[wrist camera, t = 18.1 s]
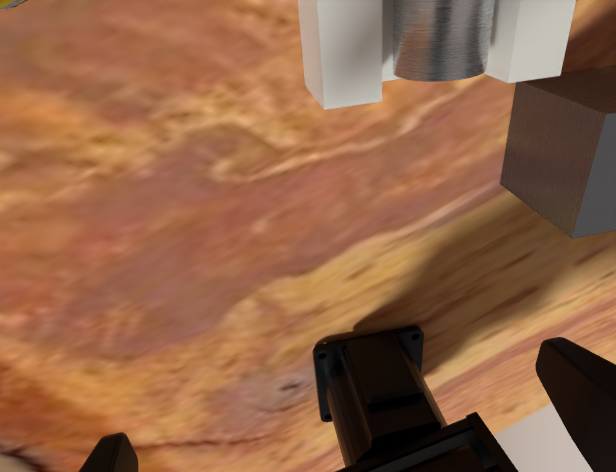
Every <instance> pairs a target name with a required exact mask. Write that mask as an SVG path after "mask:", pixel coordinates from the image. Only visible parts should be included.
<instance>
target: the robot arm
mask: <svg viewBox="0 0 616 472" xmlns="http://www.w3.org/2000/svg"><path fill="white" fill-rule="evenodd" d="M413 334H414V335H413ZM423 339H424V334H423V331H422V330H421V328H420V327H419V326H409V327H405V328H400V329H395V330H390V331H385V332H380V333H375V334H371V335H366V336H361V337H356V338H351V339H346V340H341V341H337V342H332V343H327V344H322V345H319V346H317V347H315V348H314V350H313V361H314V369H315V378H316V387H317V395H318V404H319V413H320V417H321V420H322V421H323V422H331V421H333V423H334V427H335V431H336V434H337V438H338V442H339V445H340V449H341V453H342V456H343V460H344V464H345V468H343V469H340V470H338V471H335V472H518V470H517V469H516V468H515V466H514V465H513V463H512V462H511V460H510V459H509V458H508V456H507V455H506V453H505V452H504V450H503V449H502V448H501V446H500V445H499V444H498V442H497V440H496V439H495V438H494V436H493V435H492V433H491V432H490V430H489V429H488V428H487V426H486V425H485V423H484V422H483V420H482V419H481V418H480V416H479V415H478V413H477V412H474V413H471V414H469V415H467V416H466V418H465V419H462V420H460V421H457V422H455V423H452V424H450V425H447V423H446V421H445V419H444V417H443V415H442V413H441V411H440V409H439V407H438V405H437V403H436V402H435V400H434V398H433V396H432V394H431V392H430V390H429V388H428V386H427V384H426V382H425V380H424V378H423V376H422V375H421V366H422V352H423ZM321 353H323V354H321ZM536 372H537V375H538V377H539V379H540V381H541V383H542V385H543V387H544V388H545V390H546V392H547V394H548V396H549V398H550V400H551V401H552V403H553V405H554V407H555V409H556V411H557V413H558V414H559V416H560V418H561V420H562V422H563V424H564V426H565V427H566V429H567V431H568V433H569V434H570V436H571V438H572V440H573V441H574V443H575V444H576V446H577V448H578V449H579V451H580V452H581V454H582V455H583V457H584V458H585V460H586V461H587V462H588V464H589V466H590V467H591V469H592V470H593V472H616V365H615V364H613V363H612V362H610V361H608V360H606V359H604V358H602V357H600V356H598V355H596V354H594V353H592V352H591V351H589V350H587V349H585V348H583V347H581V346H579V345H577V344H575V343H573V342H571V341H570V340H568V339H565V338H563V337H556V338H551V339H547V340H544V341H543V342H542V343H541V346H540V350H539V354H538V357H537V361H536ZM79 472H138V458H137V455H136V453H135V451H134V449H133V447H132V445H131V443H130V441H129V439H128V437H127V435H126V434H125V433H123V432H120V433H115V434H111V435H106V436H104V437H103V438H101V439H100V441H99V442H98V443H97V445H96V446H95V448H94V449H93V451H92V452H91V454H90V455H89V457H88V458H87V460H86V461H85V463H84V464H83V466H82V467H81V469H80V470H79Z"/></svg>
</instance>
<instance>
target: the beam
mask: <svg viewBox="0 0 616 472" xmlns="http://www.w3.org/2000/svg"><path fill="white" fill-rule="evenodd" d="M500 184H501V185H502V186H504V187H505V188H506V189H507V190H509V191H510V192H511V193H513V194H514V195H515V196H517V197H518V198H519V199H521V200H522V201H523V202H525V203H526V204H527V205H529V206H530V207H531V208H532V209H534V210H535V211H536V212H538V213H539V214H540V215H542V216H543V217H544V218H546V219H547V220H548V221H550V222H551V223H552V224H554V225H555V226H556V227H557V228H559V229H560V230H561V231H563V232H564V233H565V234H567V235H568V236H569V237H571V238H577V237H582V236H588V235H593V234H598V233H603V232H609V231H614V230H616V66H611V67H604V68H597V69H590V70H583V71H576V72H569V73H562V74H561V75H560V76H554V77H547V78H541V79H534V80H527V81H520V82H516V88H515V94H514V100H513V107H512V113H511V119H510V125H509V132H508V138H507V144H506V150H505V157H504V163H503V169H502V175H501V182H500Z"/></svg>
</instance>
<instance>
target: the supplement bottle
mask: <svg viewBox="0 0 616 472" xmlns="http://www.w3.org/2000/svg"><path fill="white" fill-rule="evenodd" d="M25 1H27V0H0V10H4V9H8V8H12V7H16V6H18V5H19V4H21V3H23V2H25Z"/></svg>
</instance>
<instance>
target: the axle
mask: <svg viewBox="0 0 616 472" xmlns="http://www.w3.org/2000/svg"><path fill="white" fill-rule="evenodd" d="M494 3H495V0H393V74H394V75H395V76H397V77H399V78H402V79H407V80H414V81H431V82H435V81H452V80H460V79H466V78H471V77H474V76H477V75H480V74H482V73H484V72H485V71H486V69H487V62H488V54H489V45H490V37H491V28H492V20H493V11H494Z"/></svg>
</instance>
